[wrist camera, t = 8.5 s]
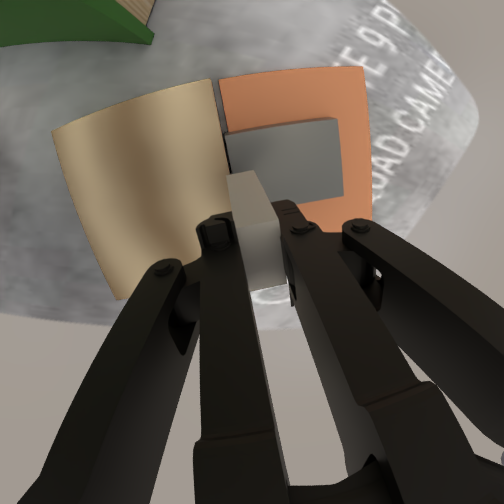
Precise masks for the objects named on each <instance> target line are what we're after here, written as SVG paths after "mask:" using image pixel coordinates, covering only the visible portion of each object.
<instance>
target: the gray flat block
mask: <svg viewBox="0 0 504 504" xmlns="http://www.w3.org/2000/svg"><path fill="white" fill-rule="evenodd" d="M224 135H225V140H226V145H227V150H228V155H229V160H230V165H231V169H232V174H236V173H241V172H246V171H251V170H254V172H255V174H256V176H257V177H258V179H259V181H260V183H261V185H262V187H263V189H264V191H265V193H266V195H267V197H268V199H269V201H270V202H275V201H280V200H285V199H288V200H290V201H293V202H295V204H296V205H297V204H303V203H308V202H313V201H319V200H324V199H330V198H336V197H341V196H344V188H343V172H342V159H341V147H340V137H339V127H338V119H336V118H332V117H324V118H315V119H306V120H298V121H291V122H284V123H277V124H271V125H265V126H259V127H253V128H248V129H242V130H237V131H232V132H227V133H224Z"/></svg>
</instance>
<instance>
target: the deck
mask: <svg viewBox="0 0 504 504" xmlns="http://www.w3.org/2000/svg"><path fill="white" fill-rule="evenodd" d="M51 133H52V137H53V140H54V144H55V148H56V151H57V155H58V158H59V161H60V164H61V168H62V171H63V174H64V177H65V180H66V183H67V186H68V189H69V192H70V195H71V197H72V200H73V203H74V206H75V208H76V211H77V214H78V216H79V219H80V221H81V224H82V226H83V229H84V231H85V234H86V236H87V238H88V241H89V243H90V245H91V248H92V250H93V252H94V255H95V257H96V259H97V261H98V263H99V266H100V268H101V270H102V272H103V274H104V276H105V278H106V280H107V282H108V285H109V287H110V289H111V291H112V293H113V295H114V297H115V298H116V300H121V299H126V298H130V296H131V295H132V293H133V291H134V290H135V288H136V286H137V285H138V283H139V282H140V280H141V278H142V277H143V275H144V274H145V272H146V271H147V269H148V268H149V267H150V266H151V265H153V264H154V263H156V262H157V261H159V260H162V259H168V258H176V259H178V260H180V261H181V263H182V265H186V264H188V263H191V262H193V261H195V260H196V259H198V258H200V257H201V247H200V243H199V240H198V236H197V233H196V227H197V225H198V224H199V223H201V222H202V221H204V220H206V219H208V218H209V217H210V216H211V215H215V214H220V213H225V212H230V211H232V209H231V203H230V196H229V190H228V184H227V178H226V175H230V171H229V166H228V161H227V156H226V151H225V146H224V141H223V136H222V131H221V126H220V121H219V116H218V111H217V106H216V101H215V96H214V91H213V86H212V81H211V79H210V78H209V79H204V80H199V81H195V82H191V83H186V84H182V85H178V86H174V87H171V88H167V89H163V90H160V91H156V92H153V93H149V94H146V95H143V96H139V97H136V98H133V99H130V100H127V101H124V102H121V103H118V104H116V105H113V106H110V107H107V108H105V109H102V110H99V111H97V112H94V113H92V114H89V115H87V116H84V117H82V118H79V119H77V120H75V121H72V122H70V123H68V124H66V125H63V126H61V127H59V128H57V129H55V130H53V131H51Z"/></svg>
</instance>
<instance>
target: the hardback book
mask: <svg viewBox="0 0 504 504" xmlns="http://www.w3.org/2000/svg"><path fill="white" fill-rule="evenodd" d="M154 1H155V0H0V47H5V46H12V45H20V44H29V43H40V42H56V41H109V42H125V43H137V44H147V45H151V43H152V40H153V37H154V33H153V32H152V31H151V30H150V29H149V28H147V27H146V23H147V20H148V17H149V15H150V12H151V9H152V6H153V4H154Z"/></svg>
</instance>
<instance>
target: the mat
mask: <svg viewBox="0 0 504 504" xmlns="http://www.w3.org/2000/svg"><path fill="white" fill-rule="evenodd" d="M219 85H220V90H221V95H222V100H223V105H224V110H225V116H226V121H227V126H228V131H229V132H232V131H237V130H242V129H248V128H253V127H259V126H265V125H271V124H277V123H284V122H291V121H298V120H306V119H315V118H324V117H332V118H336V119H338V127H339V137H340V147H341V159H342V172H343V188H344V196H341V197H336V198H330V199H324V200H319V201H313V202H308V203H303V204H297V207H298V208H299V209H300V211H301V212H302V214H303V215H304V217H305V218H306V220H307V221H311V222H314V223H316V224H317V225H318V226H319V227H320V228H321V230H322V231H323V232H342V225H343V223H344V222H346V221H348V220H351V219H354V218H358V219H359V218H363V219H368V220H371V221H372V168H371V144H370V128H369V116H368V105H367V95H366V86H365V78H364V70H363V67H357V66H351V67H317V68H302V69H290V70H280V71H271V72H263V73H256V74H249V75H242V76H236V77H231V78H225V79H220V80H219Z"/></svg>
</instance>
